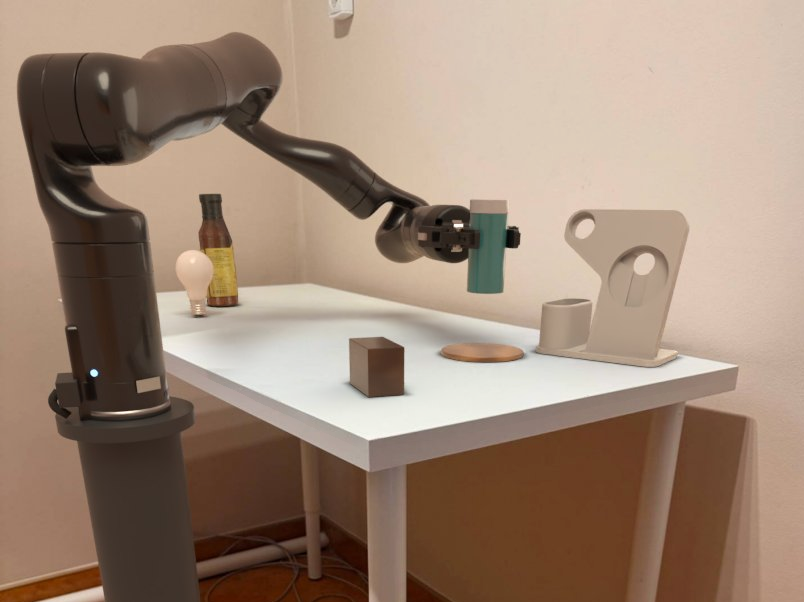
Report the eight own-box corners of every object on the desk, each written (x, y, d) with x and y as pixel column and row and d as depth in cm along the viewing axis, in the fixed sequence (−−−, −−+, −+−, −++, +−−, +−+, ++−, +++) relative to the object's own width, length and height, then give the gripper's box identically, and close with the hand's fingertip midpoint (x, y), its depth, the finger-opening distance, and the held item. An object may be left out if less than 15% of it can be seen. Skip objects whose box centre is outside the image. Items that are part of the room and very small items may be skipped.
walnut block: (368, 397, 79) (367, 349, 77) (349, 383, 85) (348, 338, 83) (404, 394, 81) (404, 346, 79) (383, 381, 87) (383, 336, 85)
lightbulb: (188, 320, 129) (181, 251, 125) (175, 315, 134) (167, 249, 129) (223, 317, 133) (217, 250, 128) (209, 313, 137) (203, 248, 133)
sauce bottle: (245, 305, 149) (237, 193, 141) (221, 308, 144) (211, 193, 136) (222, 302, 152) (212, 193, 144) (198, 305, 147) (186, 193, 139)
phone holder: (529, 352, 104) (540, 208, 97) (562, 342, 112) (574, 208, 104) (653, 367, 95) (676, 210, 87) (680, 356, 102) (703, 210, 95)
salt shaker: (497, 250, 89) (472, 177, 93) (467, 311, 99) (445, 243, 103) (534, 250, 91) (508, 178, 94) (500, 309, 101) (478, 242, 104)
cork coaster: (461, 364, 96) (461, 359, 96) (429, 349, 105) (429, 345, 105) (538, 359, 99) (538, 354, 99) (500, 345, 109) (500, 341, 109)
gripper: (487, 260, 112) (545, 270, 98) (396, 262, 108) (443, 272, 93) (490, 204, 109) (550, 206, 95) (396, 204, 105) (444, 206, 90)
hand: (496, 239), depth 94 cm, fingers closed on salt shaker, 4 cm apart
